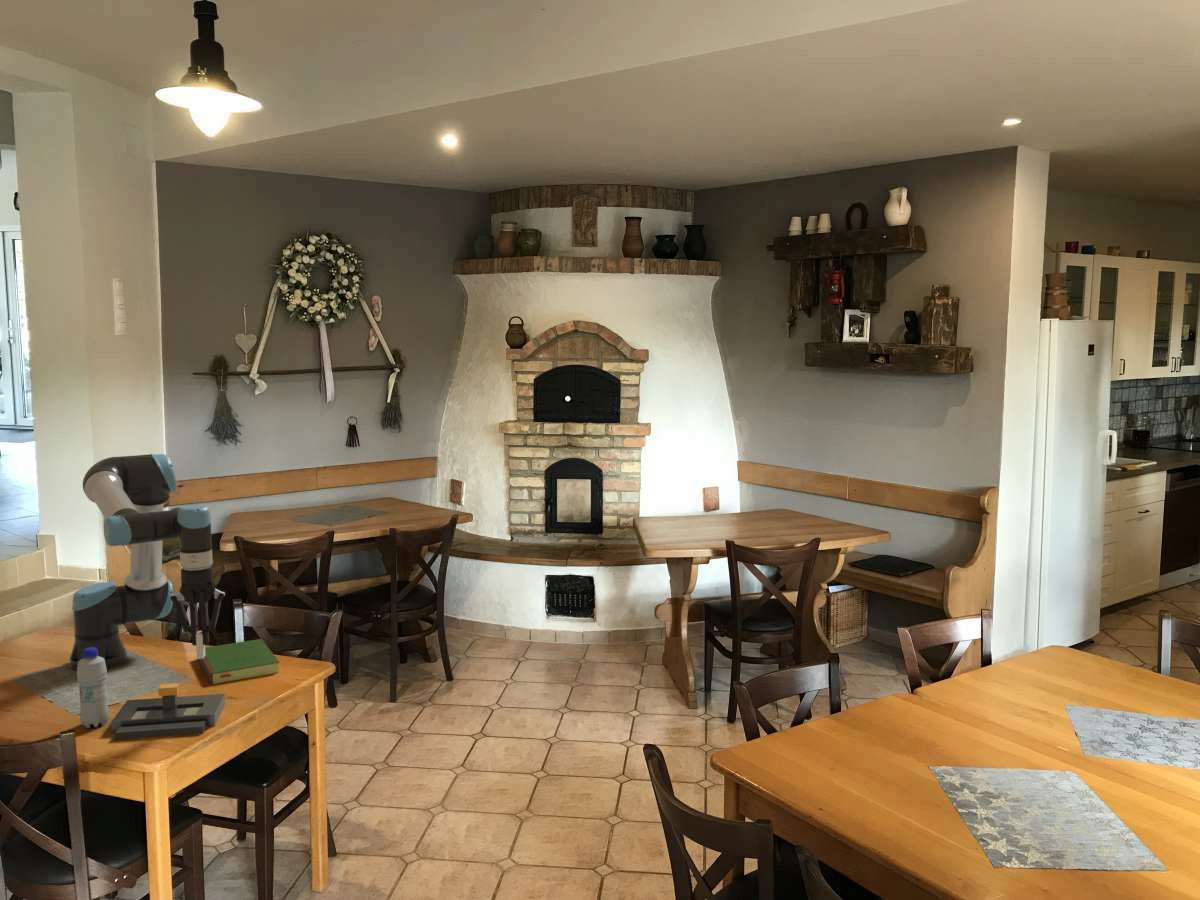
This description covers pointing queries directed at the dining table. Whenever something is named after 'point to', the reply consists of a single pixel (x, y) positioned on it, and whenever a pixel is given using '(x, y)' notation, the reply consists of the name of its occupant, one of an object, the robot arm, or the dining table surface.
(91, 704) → the bottle
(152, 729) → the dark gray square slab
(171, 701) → the toggle
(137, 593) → the robot arm
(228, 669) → the hardcover book
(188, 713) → the panel
